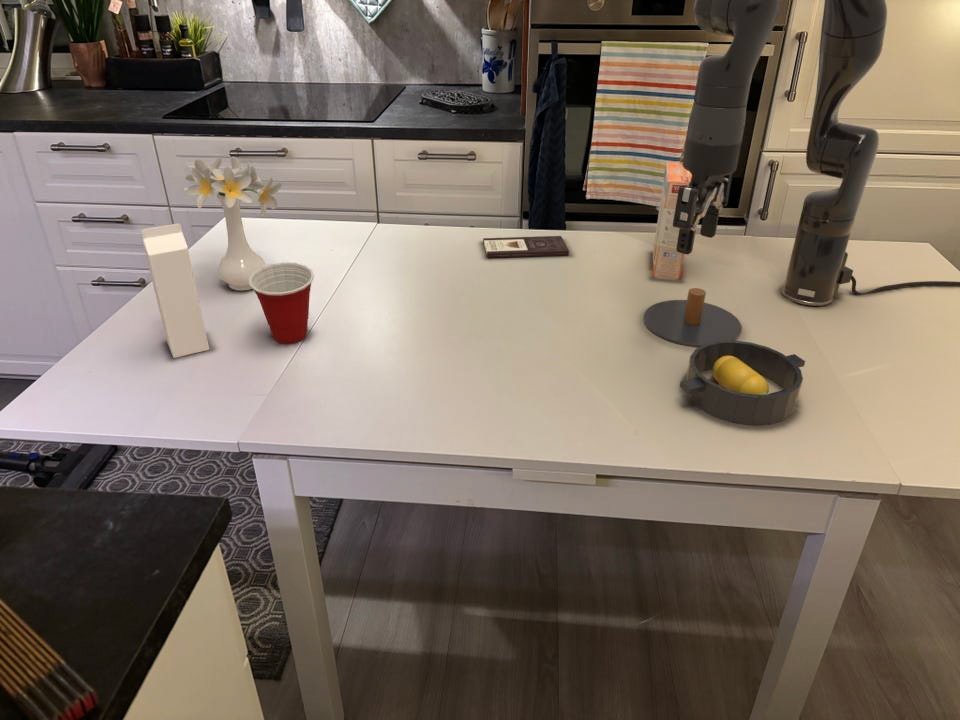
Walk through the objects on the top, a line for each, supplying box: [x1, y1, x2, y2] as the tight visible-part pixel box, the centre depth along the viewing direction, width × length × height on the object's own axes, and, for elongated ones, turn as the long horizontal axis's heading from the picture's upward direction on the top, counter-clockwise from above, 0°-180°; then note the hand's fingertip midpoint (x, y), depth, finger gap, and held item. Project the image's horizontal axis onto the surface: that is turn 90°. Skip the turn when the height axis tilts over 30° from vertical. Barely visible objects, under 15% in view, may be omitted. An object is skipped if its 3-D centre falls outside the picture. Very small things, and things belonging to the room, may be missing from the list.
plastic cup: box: [249, 261, 315, 345], centre depth 128 cm, size 11×11×12 cm
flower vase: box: [185, 156, 283, 292], centre depth 143 cm, size 13×18×25 cm
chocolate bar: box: [482, 235, 570, 259], centre depth 166 cm, size 9×1×18 cm
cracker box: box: [652, 161, 692, 280], centre depth 153 cm, size 14×6×21 cm, turn 168°
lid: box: [643, 287, 743, 348], centre depth 134 cm, size 17×17×7 cm
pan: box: [679, 340, 806, 426], centre depth 115 cm, size 16×22×6 cm
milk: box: [140, 223, 210, 359], centre depth 122 cm, size 6×6×22 cm
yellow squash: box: [712, 356, 770, 395], centre depth 114 cm, size 11×5×5 cm, turn 22°
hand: (695, 244), depth 112 cm, fingers open, 8 cm apart
